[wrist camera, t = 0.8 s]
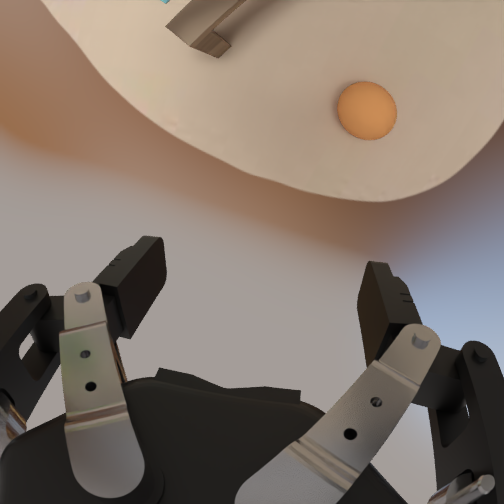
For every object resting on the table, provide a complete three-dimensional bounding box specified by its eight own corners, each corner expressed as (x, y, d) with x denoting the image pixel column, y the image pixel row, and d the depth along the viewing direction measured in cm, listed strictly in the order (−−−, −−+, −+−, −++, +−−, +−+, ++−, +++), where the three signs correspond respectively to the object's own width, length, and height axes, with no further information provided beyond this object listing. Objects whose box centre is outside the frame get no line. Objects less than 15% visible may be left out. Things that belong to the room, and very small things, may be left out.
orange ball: (363, 72, 28) (376, 67, 22) (397, 115, 29) (416, 120, 24) (322, 104, 30) (327, 106, 25) (358, 146, 32) (369, 157, 26)
